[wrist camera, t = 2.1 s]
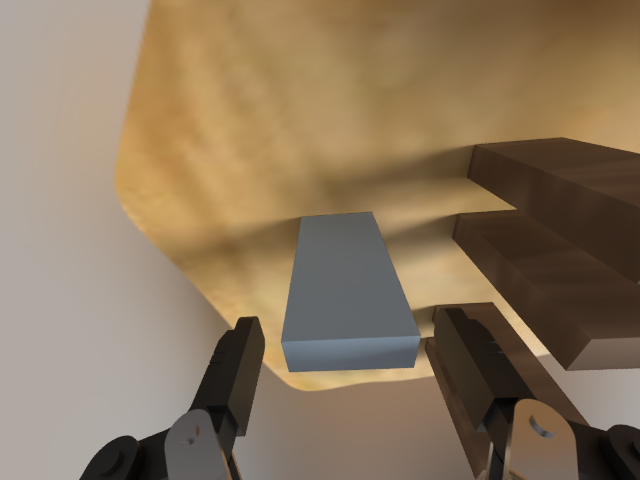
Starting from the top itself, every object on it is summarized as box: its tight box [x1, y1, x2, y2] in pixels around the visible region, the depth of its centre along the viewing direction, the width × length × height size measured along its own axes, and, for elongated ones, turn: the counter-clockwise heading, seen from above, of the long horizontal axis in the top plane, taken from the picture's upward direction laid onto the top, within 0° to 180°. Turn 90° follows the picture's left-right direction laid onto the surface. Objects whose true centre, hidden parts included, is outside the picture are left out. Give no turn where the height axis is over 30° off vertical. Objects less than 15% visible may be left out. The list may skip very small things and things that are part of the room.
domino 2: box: [425, 337, 490, 480], centre depth 21 cm, size 2×5×10 cm, turn 95°
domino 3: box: [467, 137, 640, 284], centre depth 11 cm, size 2×5×10 cm, turn 95°
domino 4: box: [452, 210, 640, 371], centre depth 13 cm, size 2×5×10 cm, turn 95°
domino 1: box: [281, 212, 421, 372], centre depth 13 cm, size 2×5×10 cm, turn 95°
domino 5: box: [432, 302, 590, 444], centre depth 18 cm, size 2×5×10 cm, turn 95°
